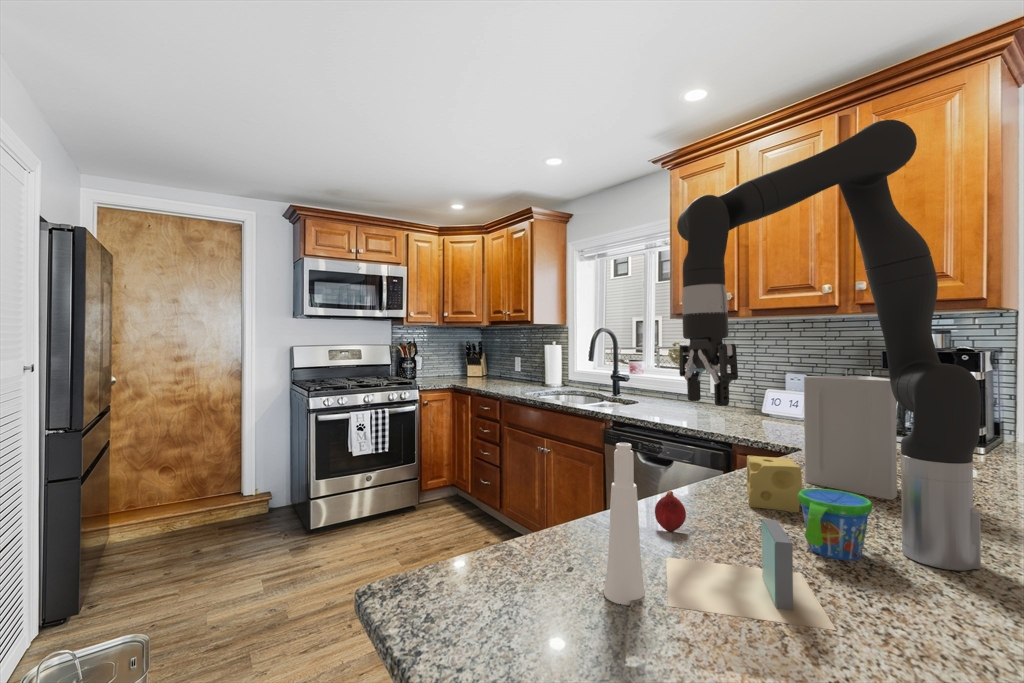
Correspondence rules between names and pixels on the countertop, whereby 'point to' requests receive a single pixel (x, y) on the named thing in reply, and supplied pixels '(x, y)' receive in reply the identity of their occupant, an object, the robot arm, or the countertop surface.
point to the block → (777, 564)
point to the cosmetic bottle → (624, 533)
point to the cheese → (773, 483)
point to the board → (739, 593)
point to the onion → (670, 512)
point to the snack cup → (835, 522)
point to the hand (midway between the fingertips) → (707, 403)
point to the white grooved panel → (851, 434)
